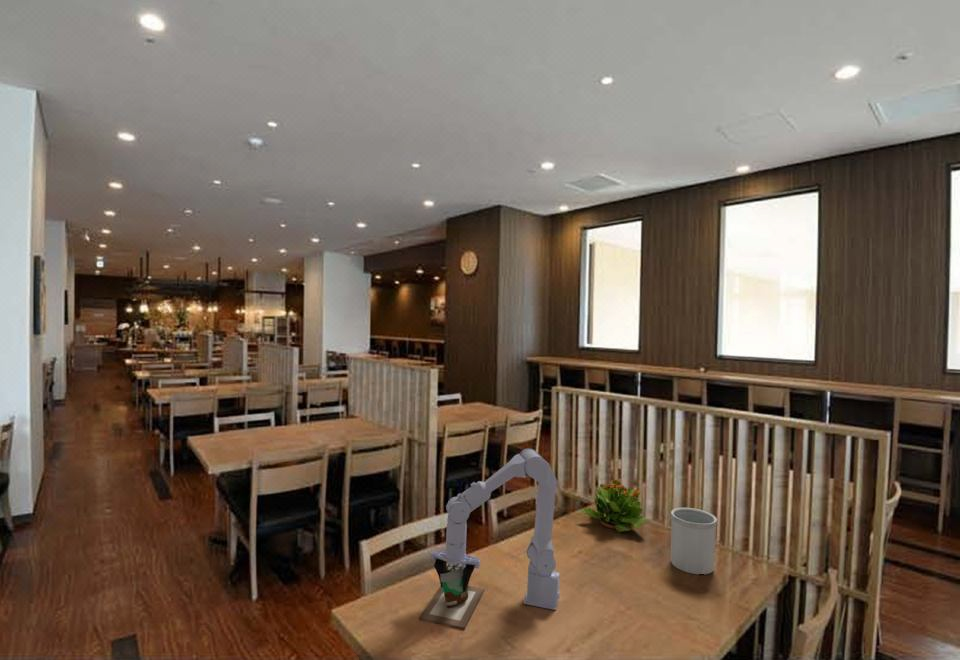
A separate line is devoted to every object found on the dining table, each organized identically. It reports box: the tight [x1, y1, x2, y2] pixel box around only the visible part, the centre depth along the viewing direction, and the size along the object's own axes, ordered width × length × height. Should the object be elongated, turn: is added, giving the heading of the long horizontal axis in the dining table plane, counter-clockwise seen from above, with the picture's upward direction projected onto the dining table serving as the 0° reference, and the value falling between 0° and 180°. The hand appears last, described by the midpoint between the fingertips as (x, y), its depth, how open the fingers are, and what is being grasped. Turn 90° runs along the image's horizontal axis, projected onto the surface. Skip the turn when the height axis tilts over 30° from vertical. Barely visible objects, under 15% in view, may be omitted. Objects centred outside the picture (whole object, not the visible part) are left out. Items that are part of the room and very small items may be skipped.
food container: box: [440, 563, 468, 608], centre depth 144 cm, size 12×6×10 cm, turn 168°
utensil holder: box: [670, 507, 718, 575], centre depth 174 cm, size 15×15×18 cm
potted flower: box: [580, 478, 647, 533], centre depth 207 cm, size 25×24×18 cm
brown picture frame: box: [418, 585, 485, 631], centre depth 143 cm, size 13×20×1 cm, turn 164°
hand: (454, 587), depth 143 cm, fingers closed on food container, 6 cm apart
